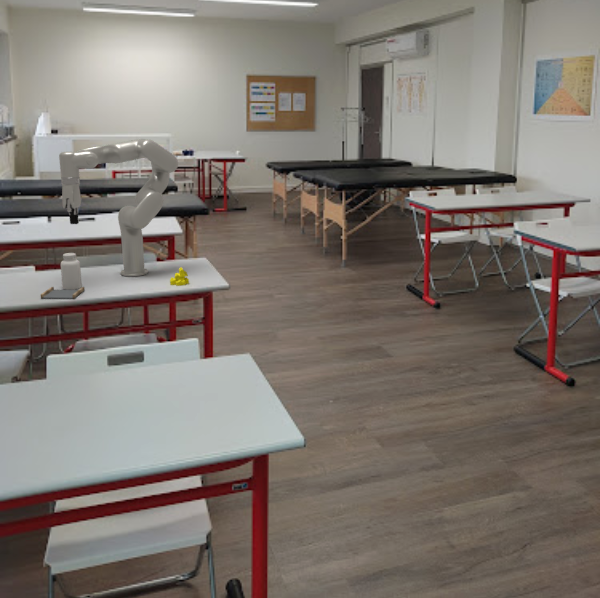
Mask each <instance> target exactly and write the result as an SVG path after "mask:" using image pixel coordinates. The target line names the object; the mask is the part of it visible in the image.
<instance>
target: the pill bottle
mask: <svg viewBox="0 0 600 598" xmlns="http://www.w3.org/2000/svg"><path fill="white" fill-rule="evenodd" d="M62 258H63V260H62V261H61V262H60V272H61V282H62V283H61V284H62V290H79V289H81V288H82V287H83V286H82V285H83V284H82V271H81V262H80V260H78V259H77V254H76V252H75V253H74V252H68V253H63V254H62Z"/></svg>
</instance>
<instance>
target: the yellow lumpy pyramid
mask: <svg viewBox="0 0 600 598" xmlns="http://www.w3.org/2000/svg"><path fill="white" fill-rule="evenodd" d="M169 284H170V286H176V287H178V286H179V287H180V286H186V285H187V284H190V279H189V278H188V272H187V271H186V270H185V269H184V268H183V267H182V266H181V267H179V268H178V272H175V274H174V277H173V276H171V277H170V279H169Z"/></svg>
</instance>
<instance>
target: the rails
mask: <svg viewBox="0 0 600 598" xmlns="http://www.w3.org/2000/svg"><path fill="white" fill-rule="evenodd" d="M53 290H55V287H54V286H51V287H49V288H48V289H47V290H45V291H43V292H42V293H41V294H40V300H44V299H43V297H44V296H45V295H47V294H48V293H50V292H51V291H53ZM77 290H78V291H77V292H75V293H74V294H73V295H72V296H73V299H72V300H75V299H77V298H78V297H79V296H80V295H79V294H80V293H81V292H82V291H84V290H85V287H84V286H82V287H81V288H80V289H77ZM85 291H86V290H85ZM85 291H84V292H85ZM78 295H79V296H78ZM77 296H78V297H77ZM75 297H76V298H75ZM74 298H75V299H74Z"/></svg>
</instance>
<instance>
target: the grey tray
mask: <svg viewBox="0 0 600 598" xmlns="http://www.w3.org/2000/svg"><path fill="white" fill-rule="evenodd" d="M78 290H79V289H76V290H65V289H54V290H53V291H51V292H50V293H48V294H47V295H45V296H44V297H43V299H42V300H76V299H77V298H78V297H79V296H81V295H82V294H83V293H84V292H85V291H86V290H84V291H82V292H81V293H80V294H79V295H78V296H77V298H76V297H75V298H74V299H73V296H72V295H73V294H74V293H75V292H77V291H78Z"/></svg>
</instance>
